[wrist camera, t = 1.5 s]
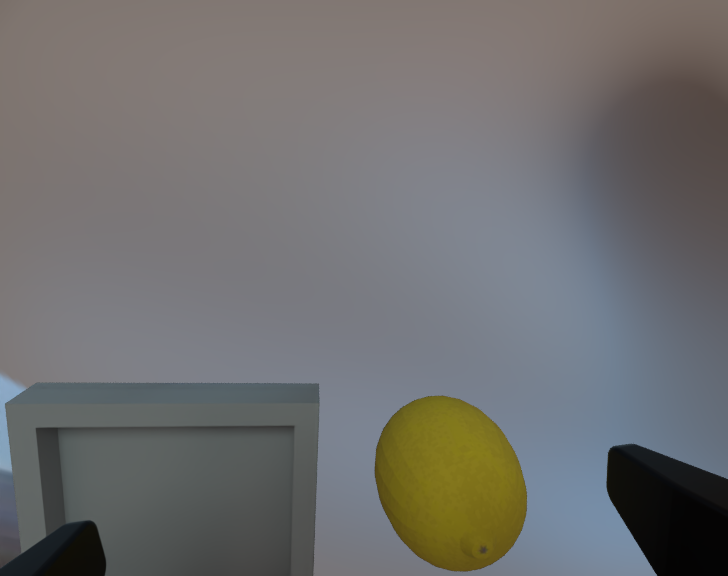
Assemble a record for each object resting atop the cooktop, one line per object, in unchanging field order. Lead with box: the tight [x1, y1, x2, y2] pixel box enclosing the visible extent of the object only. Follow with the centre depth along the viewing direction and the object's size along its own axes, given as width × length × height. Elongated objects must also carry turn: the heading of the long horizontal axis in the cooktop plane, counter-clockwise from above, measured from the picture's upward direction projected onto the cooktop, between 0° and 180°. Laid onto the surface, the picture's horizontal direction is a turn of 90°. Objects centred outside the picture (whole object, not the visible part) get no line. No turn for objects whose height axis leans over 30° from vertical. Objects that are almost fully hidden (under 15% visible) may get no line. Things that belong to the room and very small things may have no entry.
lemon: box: [375, 396, 527, 571], centre depth 17 cm, size 6×6×8 cm
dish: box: [5, 383, 319, 576], centre depth 20 cm, size 12×12×2 cm
